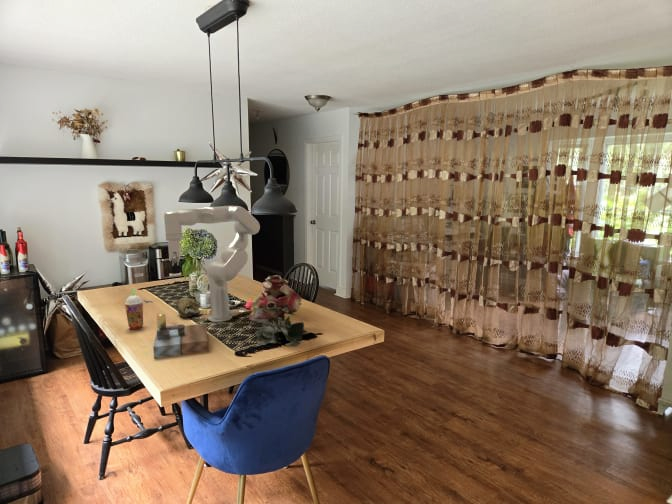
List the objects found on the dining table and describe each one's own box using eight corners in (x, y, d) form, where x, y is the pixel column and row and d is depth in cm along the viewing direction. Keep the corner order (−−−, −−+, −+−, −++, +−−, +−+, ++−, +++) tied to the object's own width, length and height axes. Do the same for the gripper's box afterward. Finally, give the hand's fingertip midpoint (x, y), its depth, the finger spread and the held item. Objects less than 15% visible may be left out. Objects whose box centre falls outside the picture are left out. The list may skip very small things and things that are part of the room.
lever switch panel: (206, 333, 207) (205, 315, 205) (208, 351, 184) (207, 332, 183) (158, 338, 200) (156, 321, 198) (154, 358, 177) (152, 338, 176)
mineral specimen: (203, 317, 231) (202, 299, 230) (179, 321, 226) (177, 303, 224) (199, 310, 244) (198, 293, 243) (175, 313, 238) (174, 296, 237)
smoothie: (125, 331, 210) (121, 292, 207) (129, 325, 218) (125, 288, 215) (143, 329, 213) (140, 291, 209) (146, 324, 220) (143, 287, 217)
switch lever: (185, 326, 193) (183, 311, 192) (184, 329, 189) (183, 313, 188) (158, 329, 190) (157, 313, 188) (157, 331, 186) (156, 316, 185)
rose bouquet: (304, 325, 217) (303, 268, 212) (302, 346, 188) (300, 281, 183) (254, 326, 216) (252, 269, 211) (244, 348, 187) (241, 283, 182)
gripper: (166, 235, 210) (169, 268, 213) (164, 239, 194) (167, 275, 197) (182, 234, 213) (184, 267, 215) (181, 238, 197) (184, 274, 199)
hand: (176, 271), depth 206 cm, fingers open, 9 cm apart
